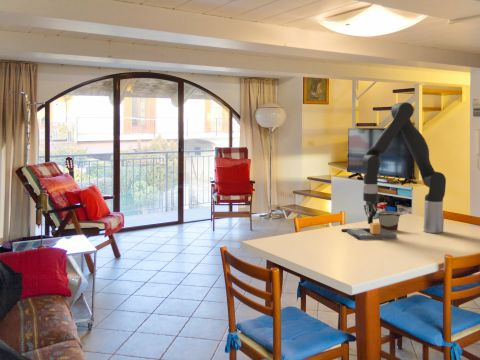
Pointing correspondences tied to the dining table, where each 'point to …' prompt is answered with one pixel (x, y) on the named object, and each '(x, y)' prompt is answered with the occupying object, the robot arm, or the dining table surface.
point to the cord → (352, 234)
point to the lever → (375, 228)
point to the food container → (389, 220)
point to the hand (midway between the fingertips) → (370, 223)
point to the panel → (366, 235)
